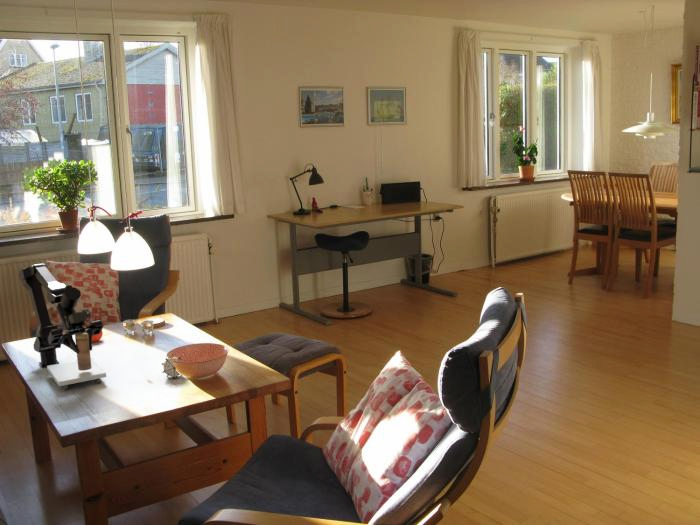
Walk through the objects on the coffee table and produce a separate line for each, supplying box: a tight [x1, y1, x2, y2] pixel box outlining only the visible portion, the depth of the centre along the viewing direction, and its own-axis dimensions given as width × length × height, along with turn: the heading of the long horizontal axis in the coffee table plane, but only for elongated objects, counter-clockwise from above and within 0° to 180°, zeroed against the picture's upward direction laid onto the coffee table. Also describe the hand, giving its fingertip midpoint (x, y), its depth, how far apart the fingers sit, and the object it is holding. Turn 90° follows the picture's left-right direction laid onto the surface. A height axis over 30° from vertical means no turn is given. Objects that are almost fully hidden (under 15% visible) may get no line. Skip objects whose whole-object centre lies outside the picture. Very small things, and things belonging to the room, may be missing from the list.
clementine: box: [92, 330, 103, 343], centre depth 308 cm, size 8×7×7 cm
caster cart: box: [46, 357, 107, 391], centre depth 258 cm, size 22×16×4 cm
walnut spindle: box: [74, 333, 92, 371], centre depth 252 cm, size 4×4×12 cm
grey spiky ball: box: [161, 354, 182, 380], centre depth 257 cm, size 9×8×10 cm
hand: (84, 351), depth 251 cm, fingers closed on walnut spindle, 4 cm apart
